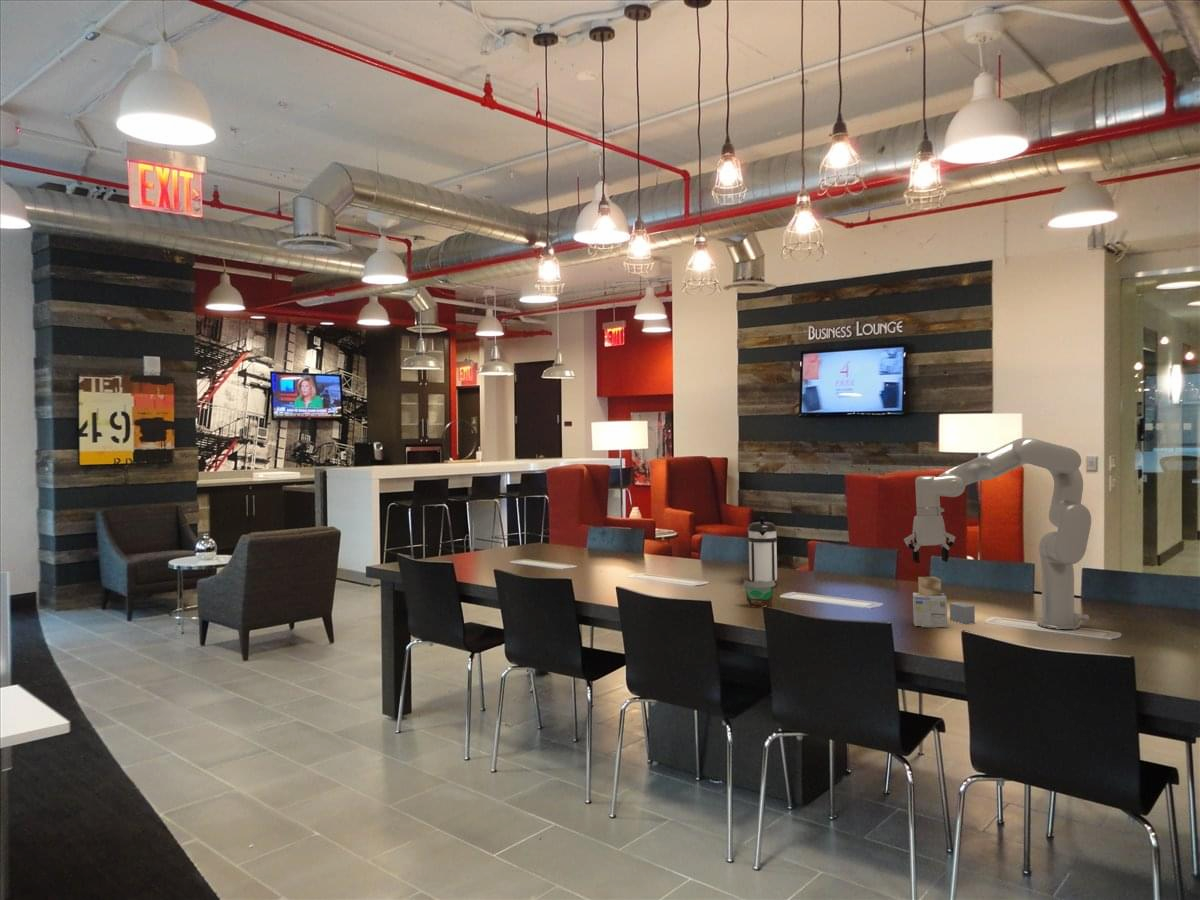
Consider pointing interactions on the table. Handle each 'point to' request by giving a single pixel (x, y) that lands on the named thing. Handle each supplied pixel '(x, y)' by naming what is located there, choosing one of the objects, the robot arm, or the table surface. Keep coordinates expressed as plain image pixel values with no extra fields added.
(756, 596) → the food container
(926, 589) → the oak cube
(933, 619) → the light bulb box
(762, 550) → the coffee press
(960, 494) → the robot arm
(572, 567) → the table surface
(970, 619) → the slate block
